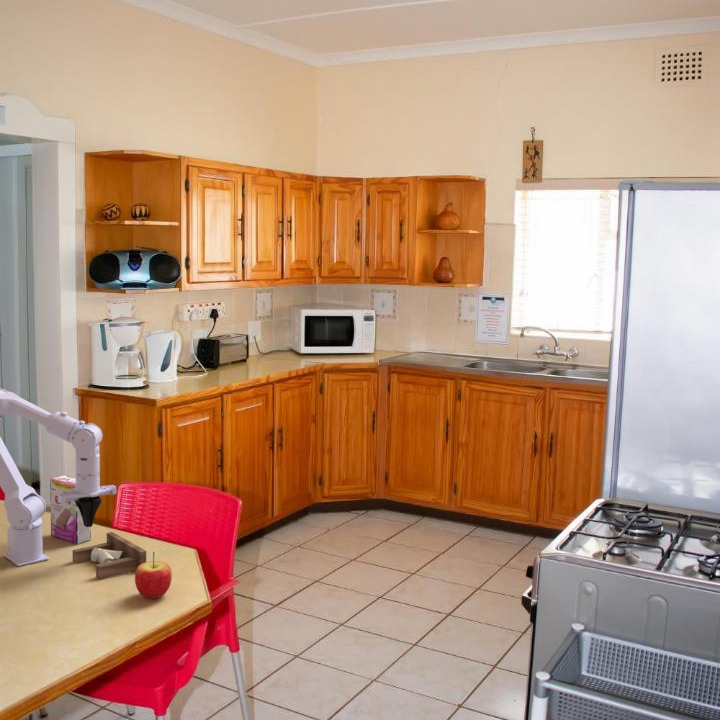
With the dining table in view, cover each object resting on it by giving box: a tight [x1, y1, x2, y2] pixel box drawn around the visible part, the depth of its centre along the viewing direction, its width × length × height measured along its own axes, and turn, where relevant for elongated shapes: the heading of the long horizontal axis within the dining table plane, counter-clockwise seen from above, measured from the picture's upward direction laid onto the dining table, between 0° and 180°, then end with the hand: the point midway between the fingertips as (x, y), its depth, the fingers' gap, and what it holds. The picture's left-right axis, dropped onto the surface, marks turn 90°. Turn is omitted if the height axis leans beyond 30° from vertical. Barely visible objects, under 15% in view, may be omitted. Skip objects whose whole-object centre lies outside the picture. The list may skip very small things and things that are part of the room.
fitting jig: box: [71, 531, 147, 580], centre depth 214 cm, size 18×12×5 cm, turn 43°
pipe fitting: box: [90, 548, 126, 564], centre depth 214 cm, size 8×4×7 cm
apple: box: [134, 551, 173, 599], centre depth 195 cm, size 8×8×10 cm
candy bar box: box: [49, 475, 92, 545], centre depth 231 cm, size 11×5×16 cm, turn 58°
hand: (88, 525), depth 214 cm, fingers closed
